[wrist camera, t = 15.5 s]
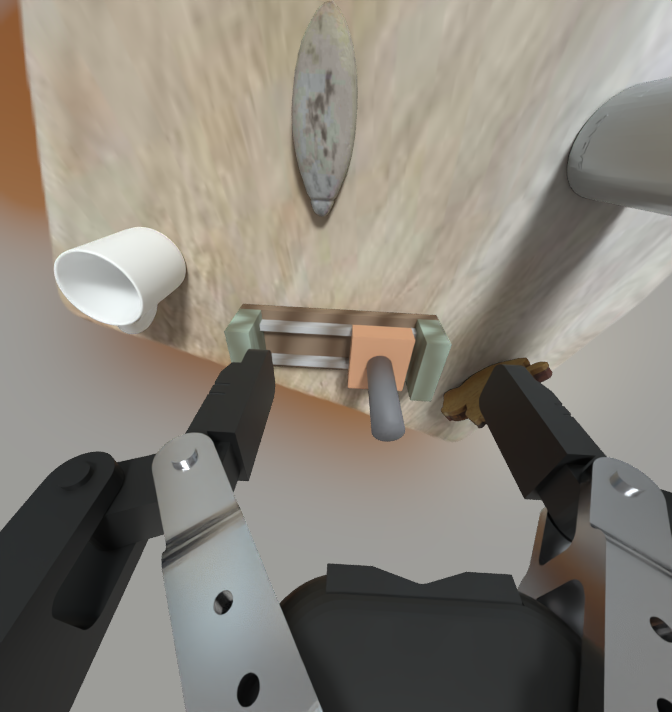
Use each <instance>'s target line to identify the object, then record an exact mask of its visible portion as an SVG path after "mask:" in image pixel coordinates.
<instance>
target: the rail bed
mask: <svg viewBox="0 0 672 712" xmlns="http://www.w3.org/2000/svg"><path fill="white" fill-rule="evenodd" d="M352 325H367V326H384V327H401V328H411V329H412V332H413V335H414V338H415V344H414V347H413V351H412V355H411V359H410V363H409V366H408V370H407V374H406V378H405V381H406V385H407V389H408V393H409V397H410V400H414V401H430V402H431V400H432V397H433V395H434V392H435V389H436V386H437V384H438V381H439V378H440V375H441V373H442V370H443V367H444V364H445V362H446V359H447V356H448V353H449V351H450V348H451V345H452V344H451V343H450V341H449V339H448V337H447V335H446V333H445V331H444V329H443V327H442V325H441V323H440V322H439V320H438V318H437V316H436V315H423V314H406V313H389V312H372V311H355V310H338V309H321V308H303V307H286V306H269V305H252V304H243V305H242V306H241V308H240V309H239V311H238V312H237V313H236V315H235V316H234V318H233V319H232V321H231V322H230V324H229V325H228V327H227V328H226V330H225V331H224V333H225V337H226V341H227V345H228V350H229V354H230V358H231V362H240V363H241V362H242V360H243V358H244V356H245V354H246V352H247V350H248V349H262V350H270V351H271V353H272V361H273V366H288V367H305V368H322V369H339V370H348V368H349V357H350V347H351V336H352Z"/></svg>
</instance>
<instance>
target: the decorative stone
mask: <svg viewBox="0 0 672 712" xmlns="http://www.w3.org/2000/svg"><path fill="white" fill-rule="evenodd" d="M357 94H358V88H357V69H356V59H355V52H354V47H353V43H352V39H351V35H350V32H349V28H348V26H347V23H346V21H345V18H344V17H343V15H342V13H341V11H340V9H339V7H338V6H336V4H335V3H334V1H328V2H325V3H324V4H322V5H321V6H320V7H319V8H318V10H317V11H316V12H315V14H314V16H313V18H312V19H311V21H310V23H309V25H308V27H307V29H306V31H305V35H304V36H303V38H302V41H301V45H300V49H299V53H298V58H297V63H296V68H295V75H294V85H293V96H292V133H293V140H294V148H295V153H296V158H297V163H298V167H299V170H300V173H301V176H302V178H303V182H304V185H305V188H306V191H307V194H308V196H309V197H310V198H311V205H312V208H313V210H314V212H315V213H316V214H317V215H319V216H326V215H328V214H329V212H330V210H331V208H332V206H333V203H334V199H335V198H336V197H337V195H338V192H339V190H340V187H341V185H342V182H343V180H344V178H345V176H346V172H347V170H348V166H349V163H350V160H351V157H352V151H353V145H354V138H355V130H356V118H357Z"/></svg>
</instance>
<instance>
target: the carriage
mask: <svg viewBox="0 0 672 712" xmlns="http://www.w3.org/2000/svg"><path fill="white" fill-rule="evenodd" d="M414 344H415V338H414V335H413V332H412V329H411V328H401V327H384V326H367V325H352V336H351V347H350V357H349V368H348V388H359V389H368V393H369V405H370V417H371V429H372V435H373V436H374V437H375V438H376V439H378V440H380V441H394V440H397V439H399V438H401V437H402V436H403V435H404V433H405V426H404V421H403V416H402V411H401V406H400V401H399V396H398V391H402V389H403V385H404V382H405V378H406V374H407V370H408V366H409V363H410V359H411V355H412V351H413V347H414Z"/></svg>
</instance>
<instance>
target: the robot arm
mask: <svg viewBox="0 0 672 712" xmlns="http://www.w3.org/2000/svg"><path fill="white" fill-rule="evenodd" d="M567 177H568V181H569V184H570V186H571V188H572V189H573V191H574V192H575V193H577V194H578V195H579V196H582V197H585V198H588V199H592V200H597V201H602V202H607V203H611V204H615V205H620V206H625V207H630V208H635V209H640V210H645V211H650V212H655V213H659V214H664V215H669V216H672V77H668V78H664V79H659V80H655V81H650V82H646V83H642V84H637V85H635V86H632V87H630V88H627V89H625V90H623V91H622V92H620V93H618V94H617V95H615V96H614V97H612V98H611V99H609V100H608V101H607V102H606V103H605V104H603V105H602V106H601V107H600V108H599V109H598V110H597V111H596V112H595V113H594V114H593V115H592V116H591V118H590V119H589V120H588V121H587V123H586V124H585V125H584V127H583V128H582V130H581V131H580V133H579V135H578V136H577V138H576V140H575V142H574V144H573V147H572V149H571V152H570V155H569V160H568V165H567ZM274 393H275V377H274V369H273V361H272V353H271V351H270V350H262V349H248V350H247V352H246V354H245V356H244V358H243V360H242V362H241V363H240V362H232V363H231V364H230V365H228V366H227V367H226V368H225V369H224V370H222V371H221V373H220V374H219V376H218V378H217V379H216V381H215V385H213V386H212V388H211V390H210V392H209V394H208V395H207V397H206V399H205V400H204V402H203V404H202V406H201V407H200V409H199V411H198V412H197V414H196V416H195V418H194V419H193V421H192V423H191V425H190V426H189V428H188V430H187V431H186V433H185V434H183V435H180V436H178V437H175V438H174V439H172V440H170V441H169V442H167V443H166V444H165V445H164V446H163V447H162V448H161V449H160V450H159V451H158V452H157V453H156V454H153V455H149V456H144V457H140V458H135V459H131V460H126V461H122V462H116V461H115V460H114V458H112V456H111V455H110V454H108V453H105V452H90V453H85V454H82V455H79V456H77V457H74V458H72V459H70V460H68V461H66V462H65V463H63V464H62V465H60V466H59V467H58V468H56V469H55V470H54V471H53V472H51V473H50V474H49V475H48V476H47V478H46V479H45V480H44V481H43V482H42V483H41V484H40V486H39V487H38V488H37V489H36V490H35V491H34V493H33V494H32V495H31V496H30V497H29V499H28V500H27V501H26V502H25V503H24V504H23V506H22V507H21V508H20V509H19V510H18V511H17V513H16V514H15V515H14V516H13V517H12V518H11V520H10V521H9V522H8V523H7V524H6V526H5V527H4V528H3V529H2V530H1V532H0V712H69V711H70V709H71V707H72V705H73V703H74V700H75V698H76V696H77V694H78V692H79V689H80V687H81V685H82V683H83V681H84V679H85V676H86V674H87V672H88V670H89V668H90V665H91V663H92V661H93V659H94V657H95V655H96V652H97V650H98V648H99V646H100V644H101V641H102V639H103V637H104V635H105V633H106V630H107V628H108V626H109V624H110V622H111V619H112V617H113V615H114V613H115V611H116V609H117V607H118V604H119V602H120V600H121V597H122V596H123V593H124V591H125V589H126V587H127V585H128V582H129V580H130V578H131V576H132V574H133V571H134V570H135V567H136V565H137V563H138V561H139V559H140V557H141V554H142V552H143V550H144V547H145V546H146V543H147V541H148V539H150V538H153V537H156V536H160V535H163V534H164V536H165V541H166V550H165V551H164V552H163V553H162V559H161V561H162V572H163V579H164V585H165V591H166V596H167V602H168V608H169V614H170V620H171V626H172V632H173V637H174V644H175V650H176V656H177V661H178V667H179V673H180V679H181V684H182V691H183V697H184V703H185V709H186V712H672V493H671V492H667V491H664V490H661V489H659V487H658V486H657V485H656V484H655V483H654V482H653V481H652V480H651V479H650V478H649V477H648V476H646V475H645V474H644V473H643V472H641V471H640V470H638V469H637V468H635V467H633V466H631V465H629V464H628V463H625V462H623V461H621V460H617V459H614V458H608V457H606V456H605V454H604V453H603V452H602V451H601V450H600V448H599V447H598V446H597V445H596V444H595V443H594V441H593V440H592V439H591V438H590V436H589V435H588V434H587V433H586V432H585V431H584V429H583V428H582V427H581V426H580V424H579V423H578V422H577V421H576V420H575V419H574V417H571V414H570V413H569V411H568V410H567V409H566V408H565V407H564V406H562V403H561V402H560V401H559V399H558V398H557V397H556V396H555V395H554V393H553V392H552V391H550V390H549V389H548V388H546V387H545V386H544V385H542V384H541V383H540V382H538V381H536V380H535V379H534V378H533V377H532V375H531V374H530V373H529V372H528V370H527V369H526V368H525V367H524V366H521V365H506V364H498V365H496V366H495V367H494V369H493V371H492V373H491V375H490V377H489V379H488V381H487V383H486V384H485V386H484V388H483V390H482V392H481V394H480V398H479V408H480V411H481V413H482V415H483V417H484V419H485V421H486V423H487V425H488V427H489V429H490V431H491V433H492V435H493V437H494V439H495V441H496V443H497V445H498V447H499V449H500V451H501V453H502V455H503V457H504V459H505V461H506V463H507V465H508V467H509V469H510V471H511V473H512V475H513V477H514V479H515V481H516V483H517V485H518V487H519V489H520V491H521V493H522V495H523V497H524V499H533V500H542V501H543V503H544V505H545V507H544V508H543V509H542V510H541V513H540V516H539V521H538V526H537V532H536V536H535V541H534V546H533V551H532V556H531V561H530V565H529V568H528V571H527V573H526V575H525V577H524V578H523V579H522V581H521V583H520V585H519V587H518V589H517V588H516V585H515V583H514V580H513V577H512V575H508V574H492V573H476V572H465V573H461V574H458V575H454V576H451V577H448V578H444V579H441V580H437V581H434V582H431V583H427V584H418V583H415V582H413V581H410V580H408V579H405V578H402V577H400V576H397V575H394V574H392V573H389V572H387V571H384V570H381V569H378V568H376V567H373V566H361V565H344V564H327V575H324V576H321V577H317V578H314V579H312V580H310V581H308V582H306V583H304V584H303V585H301V586H299V587H298V588H296V589H295V590H294V591H292V592H291V593H290V594H289V595H288V596H287V597H285V598H284V599H283V600H282V601H281V603H280V604H279V602H278V600H277V597H276V595H275V592H274V590H273V588H272V585H271V583H270V580H269V578H268V575H267V573H266V570H265V568H264V565H263V563H262V560H261V558H260V556H259V553H258V551H257V548H256V546H255V543H254V541H253V538H252V536H251V533H250V531H249V528H248V526H247V524H246V521H245V519H244V516H243V514H242V511H241V509H240V507H239V505H238V503H237V501H236V499H235V496H234V489H235V486H236V484H237V481H249V478H250V475H251V472H252V468H253V465H254V461H255V458H256V455H257V452H258V448H259V445H260V442H261V438H262V435H263V432H264V429H265V425H266V422H267V418H268V415H269V412H270V409H271V405H272V402H273V399H274Z"/></svg>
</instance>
